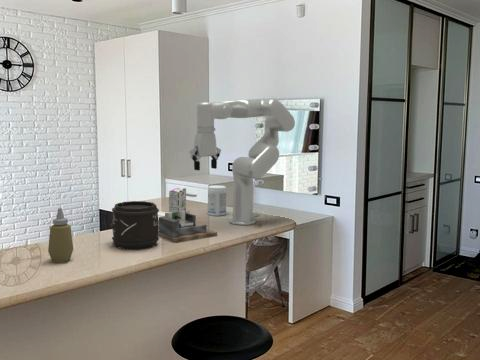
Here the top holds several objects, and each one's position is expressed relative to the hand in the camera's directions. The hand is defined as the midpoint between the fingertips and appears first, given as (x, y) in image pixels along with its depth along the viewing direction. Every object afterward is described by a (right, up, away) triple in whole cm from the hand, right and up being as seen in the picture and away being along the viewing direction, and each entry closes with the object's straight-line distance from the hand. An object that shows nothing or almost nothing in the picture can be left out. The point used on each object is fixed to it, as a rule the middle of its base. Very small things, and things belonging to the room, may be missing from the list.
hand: (205, 169), depth 211 cm
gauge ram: (-9, -26, -10) cm, 30 cm away
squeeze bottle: (-46, -32, -50) cm, 75 cm away
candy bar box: (-14, -26, +10) cm, 31 cm away
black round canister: (-26, -30, -27) cm, 48 cm away
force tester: (-8, -28, -11) cm, 31 cm away
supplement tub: (+3, -23, +35) cm, 42 cm away
